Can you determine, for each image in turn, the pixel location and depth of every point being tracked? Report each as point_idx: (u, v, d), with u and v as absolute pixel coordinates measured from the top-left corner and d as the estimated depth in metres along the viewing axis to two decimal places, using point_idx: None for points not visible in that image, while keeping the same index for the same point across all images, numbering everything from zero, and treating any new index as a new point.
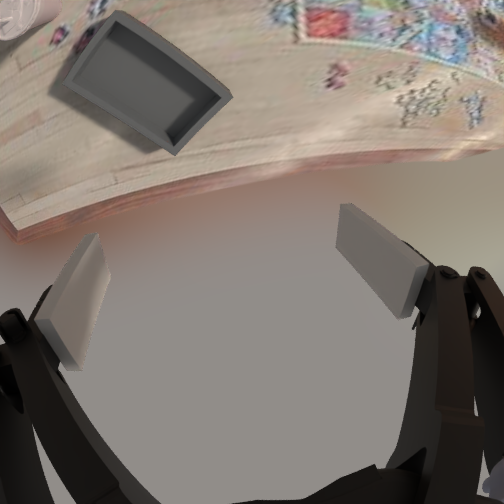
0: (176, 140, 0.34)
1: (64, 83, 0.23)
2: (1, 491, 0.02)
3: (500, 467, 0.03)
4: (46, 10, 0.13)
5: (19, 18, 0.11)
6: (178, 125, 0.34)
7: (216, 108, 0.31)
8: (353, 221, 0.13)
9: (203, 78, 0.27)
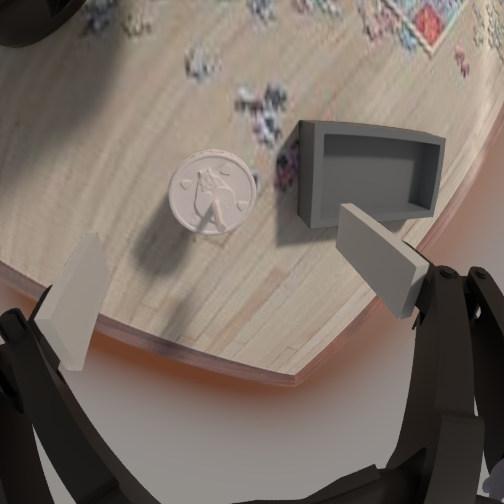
0: (424, 203, 0.32)
1: (312, 226, 0.29)
2: (1, 491, 0.02)
3: (500, 467, 0.03)
4: None
5: (232, 195, 0.20)
6: (414, 189, 0.33)
7: (441, 156, 0.27)
8: (353, 221, 0.13)
9: (422, 138, 0.26)
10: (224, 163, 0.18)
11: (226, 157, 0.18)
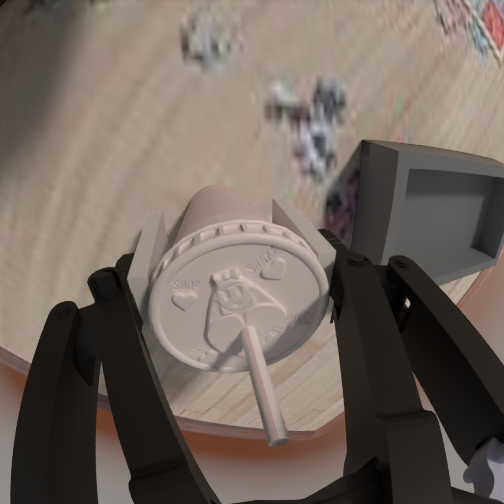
0: (488, 249, 0.22)
1: None
2: (44, 466, 0.03)
3: (478, 463, 0.03)
4: None
5: (283, 314, 0.10)
6: (478, 231, 0.23)
7: None
8: (279, 212, 0.15)
9: None
10: (270, 256, 0.08)
11: (277, 243, 0.08)
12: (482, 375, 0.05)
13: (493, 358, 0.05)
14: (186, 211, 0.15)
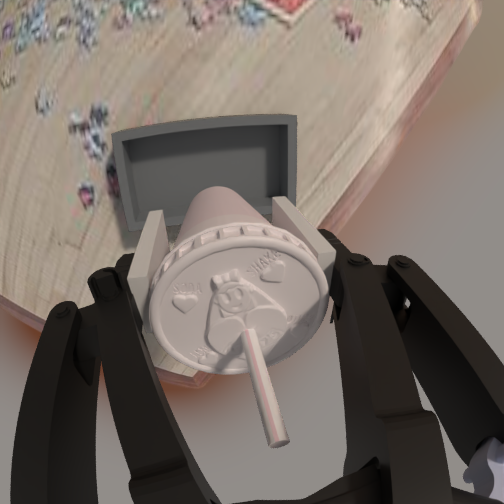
0: None
1: (130, 229, 0.29)
2: (44, 466, 0.03)
3: (478, 463, 0.03)
4: None
5: (283, 316, 0.10)
6: (273, 182, 0.33)
7: (292, 137, 0.27)
8: (279, 212, 0.15)
9: (253, 121, 0.26)
10: (271, 259, 0.08)
11: (277, 246, 0.08)
12: (482, 375, 0.05)
13: (493, 358, 0.05)
14: None
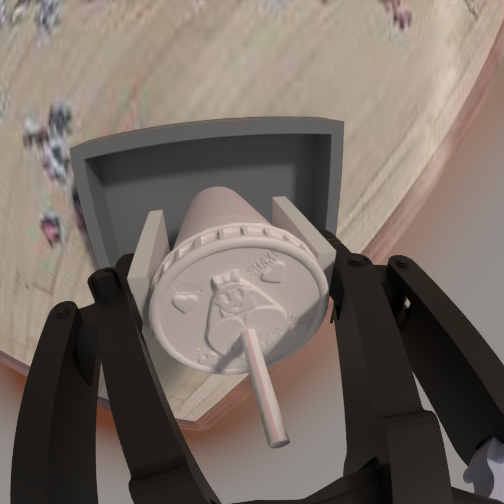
0: None
1: None
2: (44, 467, 0.03)
3: (478, 463, 0.03)
4: None
5: (283, 316, 0.10)
6: (302, 212, 0.24)
7: (337, 153, 0.19)
8: (279, 212, 0.15)
9: (283, 127, 0.17)
10: (270, 259, 0.08)
11: (277, 246, 0.08)
12: (482, 375, 0.05)
13: (493, 359, 0.05)
14: None
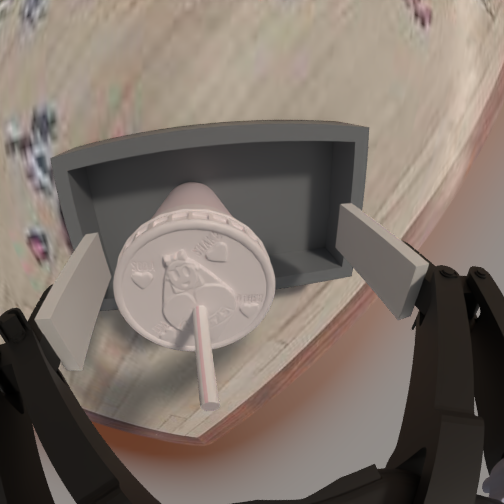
0: (335, 252, 0.21)
1: None
2: (1, 491, 0.02)
3: (500, 467, 0.03)
4: None
5: (232, 295, 0.11)
6: (317, 228, 0.21)
7: (361, 164, 0.16)
8: (352, 221, 0.13)
9: (301, 133, 0.14)
10: (213, 240, 0.09)
11: (218, 228, 0.09)
12: None
13: None
14: None
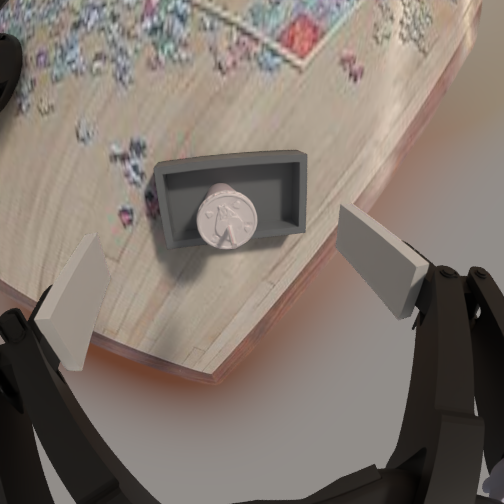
0: (296, 220, 0.39)
1: (168, 247, 0.36)
2: (1, 491, 0.02)
3: (500, 467, 0.03)
4: None
5: (241, 222, 0.29)
6: (286, 207, 0.40)
7: (303, 172, 0.34)
8: (352, 221, 0.13)
9: (272, 159, 0.33)
10: (235, 200, 0.28)
11: (237, 196, 0.28)
12: None
13: None
14: None
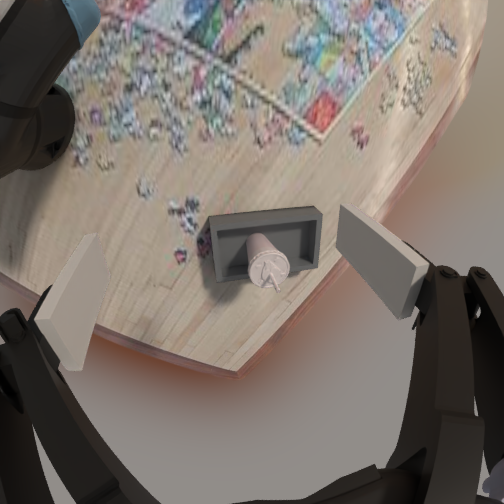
0: (310, 258, 0.52)
1: (218, 281, 0.49)
2: (1, 491, 0.02)
3: (500, 467, 0.03)
4: None
5: (279, 270, 0.42)
6: (304, 248, 0.53)
7: (319, 227, 0.48)
8: (353, 221, 0.13)
9: (297, 219, 0.46)
10: (276, 257, 0.41)
11: (277, 254, 0.41)
12: None
13: None
14: (248, 242, 0.48)
